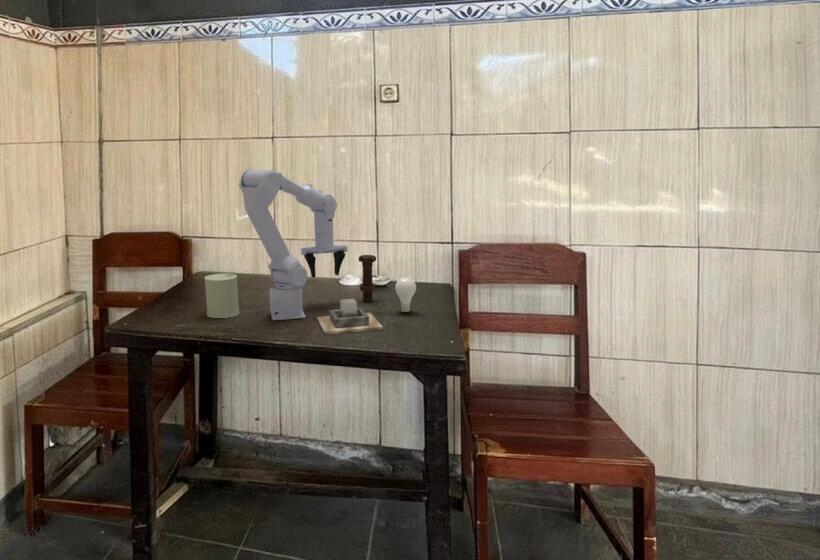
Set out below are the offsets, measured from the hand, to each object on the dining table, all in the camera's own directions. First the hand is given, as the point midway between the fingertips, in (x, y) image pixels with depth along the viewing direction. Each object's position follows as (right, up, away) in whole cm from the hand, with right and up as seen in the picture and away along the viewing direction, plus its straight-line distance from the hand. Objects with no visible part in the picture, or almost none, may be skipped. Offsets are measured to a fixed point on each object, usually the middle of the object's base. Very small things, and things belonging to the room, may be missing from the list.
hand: (325, 275), depth 170 cm
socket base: (+10, -14, -18) cm, 25 cm away
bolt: (+13, -8, +7) cm, 17 cm away
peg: (+10, -13, -18) cm, 24 cm away
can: (-29, -12, -10) cm, 33 cm away
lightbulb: (+26, -11, -5) cm, 28 cm away
